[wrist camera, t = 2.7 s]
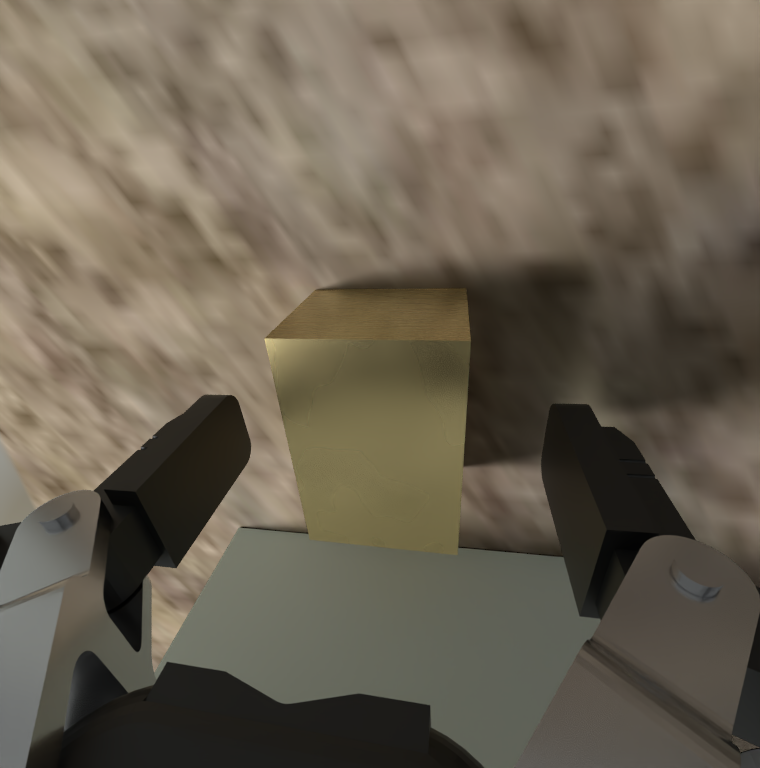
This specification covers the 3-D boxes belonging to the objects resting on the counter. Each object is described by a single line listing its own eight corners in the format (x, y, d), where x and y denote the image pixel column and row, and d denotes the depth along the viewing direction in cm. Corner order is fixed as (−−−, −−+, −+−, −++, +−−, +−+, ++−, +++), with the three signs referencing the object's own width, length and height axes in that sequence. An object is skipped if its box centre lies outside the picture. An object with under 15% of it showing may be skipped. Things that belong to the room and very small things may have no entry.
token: (317, 287, 11) (264, 338, 8) (466, 285, 10) (470, 340, 7) (341, 456, 14) (309, 539, 11) (457, 463, 13) (457, 555, 10)
